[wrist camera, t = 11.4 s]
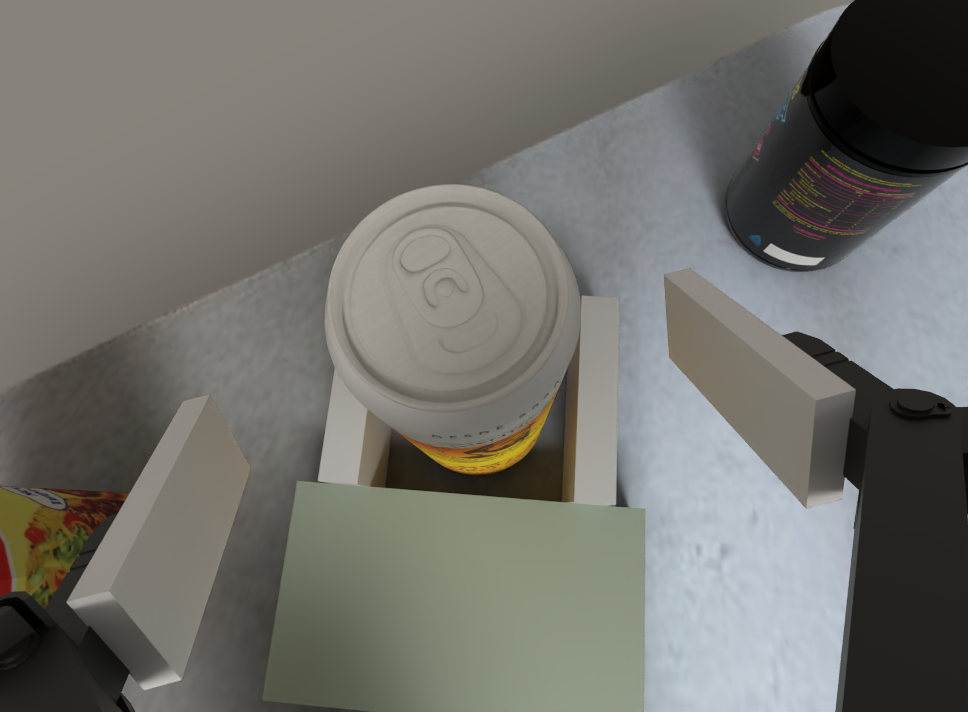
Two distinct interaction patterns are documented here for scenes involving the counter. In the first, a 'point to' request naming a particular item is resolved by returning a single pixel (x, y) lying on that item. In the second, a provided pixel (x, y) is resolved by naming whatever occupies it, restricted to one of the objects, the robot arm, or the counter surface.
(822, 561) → the counter surface
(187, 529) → the robot arm
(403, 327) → the beer can
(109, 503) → the canned food
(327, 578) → the green panel with frame
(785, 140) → the supplement container
